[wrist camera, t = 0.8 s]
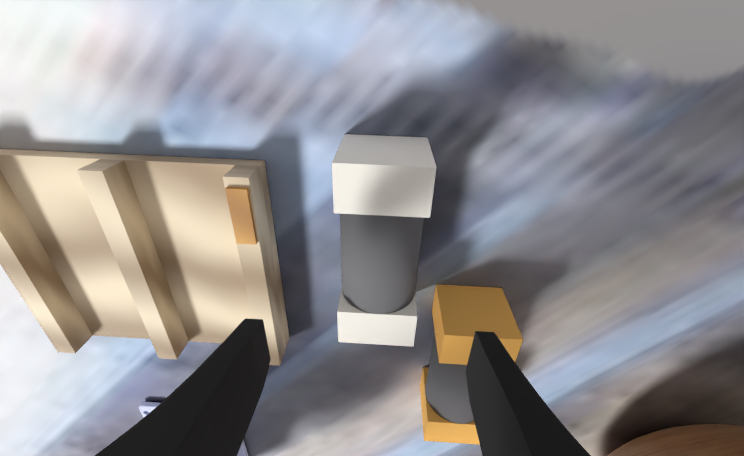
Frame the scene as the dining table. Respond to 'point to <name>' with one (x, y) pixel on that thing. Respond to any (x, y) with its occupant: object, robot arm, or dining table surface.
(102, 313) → the rack
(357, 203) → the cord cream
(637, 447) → the bowl
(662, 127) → the dining table surface
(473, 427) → the yellow dumbbell
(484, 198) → the dining table surface
